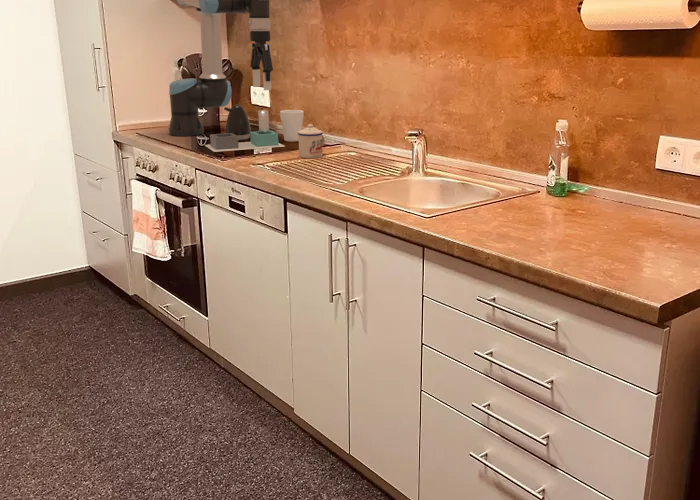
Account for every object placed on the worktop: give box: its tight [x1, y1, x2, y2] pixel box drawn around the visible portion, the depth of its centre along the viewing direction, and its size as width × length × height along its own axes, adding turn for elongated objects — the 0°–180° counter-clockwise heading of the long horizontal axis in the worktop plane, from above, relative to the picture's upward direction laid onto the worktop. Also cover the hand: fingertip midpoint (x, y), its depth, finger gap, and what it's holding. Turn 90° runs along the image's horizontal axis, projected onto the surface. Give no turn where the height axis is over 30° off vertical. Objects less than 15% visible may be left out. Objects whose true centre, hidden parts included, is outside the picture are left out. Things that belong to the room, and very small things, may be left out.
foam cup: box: [279, 109, 305, 142], centre depth 280 cm, size 10×9×13 cm
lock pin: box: [257, 109, 270, 134], centre depth 270 cm, size 4×4×13 cm
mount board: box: [204, 132, 286, 153], centre depth 269 cm, size 16×28×6 cm, turn 114°
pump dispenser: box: [223, 104, 252, 141], centre depth 284 cm, size 10×10×15 cm
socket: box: [250, 130, 279, 147], centre depth 272 cm, size 9×9×4 cm
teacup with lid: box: [298, 123, 325, 159], centre depth 256 cm, size 12×9×12 cm
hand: (262, 88), depth 266 cm, fingers open, 13 cm apart
